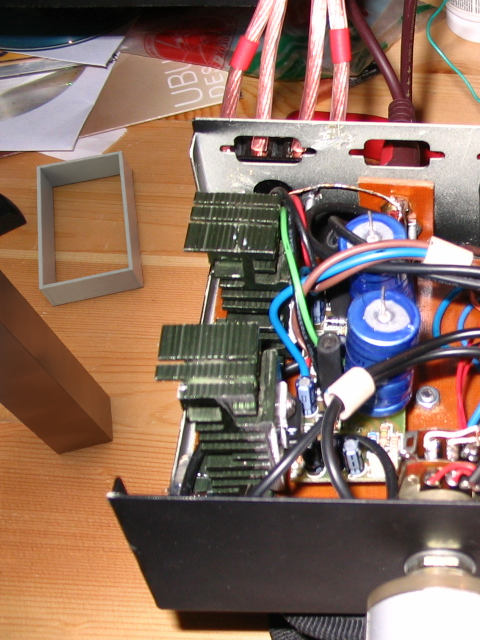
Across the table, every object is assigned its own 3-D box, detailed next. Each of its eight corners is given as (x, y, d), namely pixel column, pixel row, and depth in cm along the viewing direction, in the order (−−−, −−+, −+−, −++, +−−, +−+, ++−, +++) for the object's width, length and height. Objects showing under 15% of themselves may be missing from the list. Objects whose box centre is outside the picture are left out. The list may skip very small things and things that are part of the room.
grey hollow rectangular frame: (52, 306, 82) (38, 289, 79) (49, 185, 90) (36, 166, 87) (143, 286, 83) (132, 269, 81) (131, 169, 92) (121, 150, 89)
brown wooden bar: (57, 454, 73) (-130, 288, 51) (56, 409, 76) (-124, 231, 53) (113, 440, 74) (-48, 271, 52) (109, 396, 77) (-45, 216, 54)
